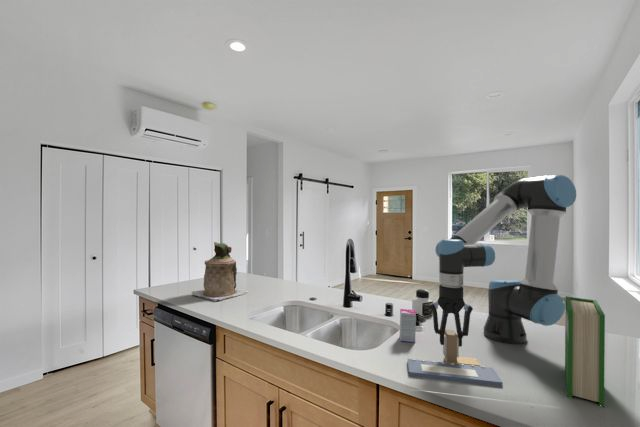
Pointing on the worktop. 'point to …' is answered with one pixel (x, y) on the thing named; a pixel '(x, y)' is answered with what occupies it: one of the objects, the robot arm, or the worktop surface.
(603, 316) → the hardback book
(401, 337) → the supplement box
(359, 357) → the worktop surface
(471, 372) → the blue-grey flat rectangular block
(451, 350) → the wooden l-shaped block
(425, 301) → the medicine bottle
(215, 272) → the cookie jar
